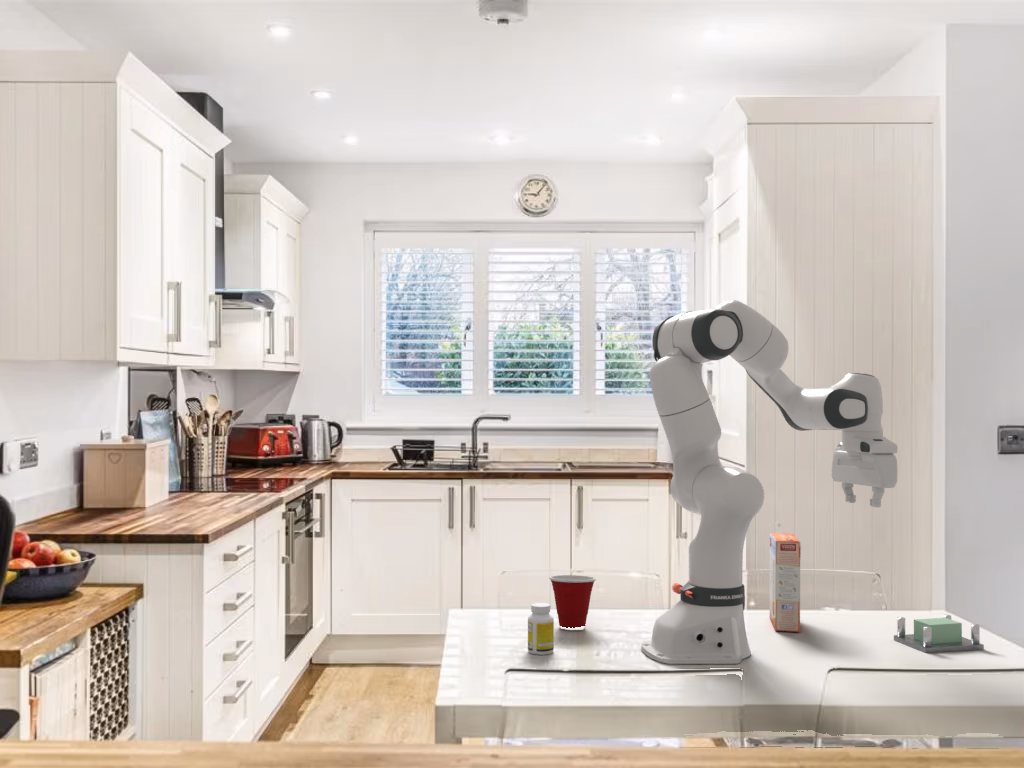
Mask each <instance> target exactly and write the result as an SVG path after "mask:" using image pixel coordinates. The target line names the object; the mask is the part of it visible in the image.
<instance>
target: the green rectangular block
mask: <svg viewBox="0 0 1024 768" xmlns="http://www.w3.org/2000/svg"><path fill="white" fill-rule="evenodd" d="M962 623H963V622H960V621H957V620H953V619H952V618H951V619H948V618H943V617H936V618H932V617H931V618H917V619H915V618H914V619H913V634H914V638H915V639H918V640H921V641H923V627H925V626H927V627H931V628H932V644H936V643H951V642H962V637H963V635H962V634H963V631H962V629H963V624H962Z"/></svg>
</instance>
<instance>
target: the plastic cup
mask: <svg viewBox="0 0 1024 768" xmlns="http://www.w3.org/2000/svg"><path fill="white" fill-rule="evenodd" d="M548 579H549V580H550V582H551V587H552V590H553V594H554V595H553V596H554V601H555V607H556V614H557V619H558V620H557V621H558V625H559V627H560V626H562V627H566V628H568V627H570V628H572V627H573V628H575V627H581V626H585V627H586V625H585V624H587V617H588V614H589V608H590V602H591V596H592V591H593V587H594V585H595V584H594V583H595V581H596V579H597V578H596V577H593V576H589V575H576V574H575V575H574V574H570V575H569V574H568V575H567V574H566V575H565V574H563V575H551V576H549V577H548Z"/></svg>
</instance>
